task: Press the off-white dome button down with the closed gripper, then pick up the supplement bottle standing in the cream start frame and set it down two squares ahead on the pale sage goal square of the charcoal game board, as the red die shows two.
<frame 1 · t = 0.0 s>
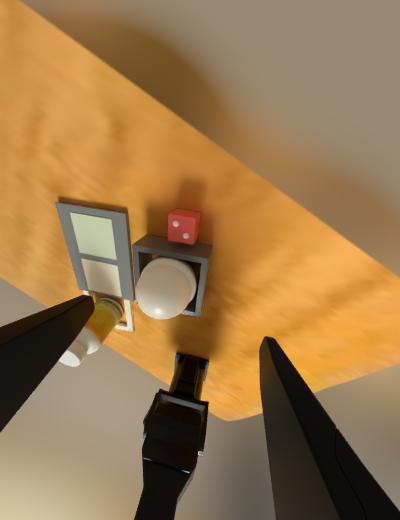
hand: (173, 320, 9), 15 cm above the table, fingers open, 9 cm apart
game board: (105, 276, 28), on the table
dome: (164, 290, 20), point 5 cm above the table, slide at 0.0 cm
dome housing: (177, 268, 25), on the table
supplement bottle: (111, 307, 32), resting in game board
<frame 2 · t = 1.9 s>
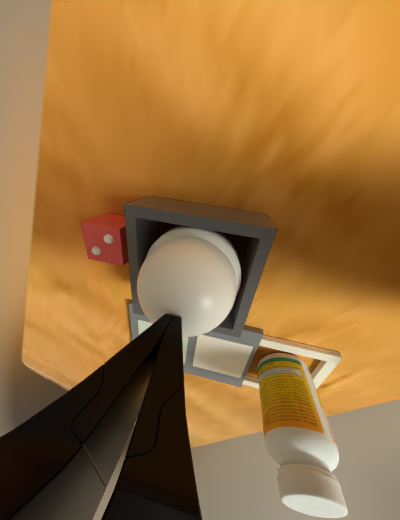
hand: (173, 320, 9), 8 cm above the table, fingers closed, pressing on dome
game board: (220, 351, 21), on the table
dome: (187, 284, 12), point 4 cm above the table, slide at 0.9 cm, touching gripper
dome housing: (199, 256, 15), on the table
supplement bottle: (280, 364, 20), resting in game board
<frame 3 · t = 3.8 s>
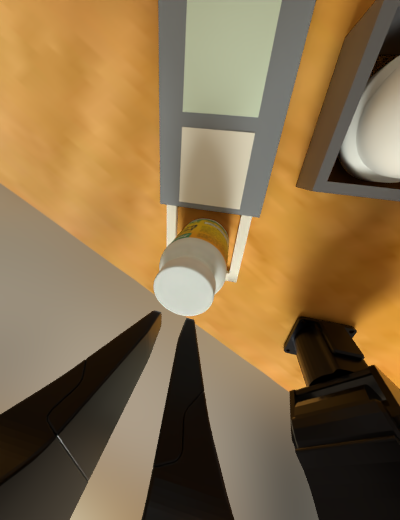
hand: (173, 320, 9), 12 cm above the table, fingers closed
game board: (213, 171, 16), on the table
dome housing: (380, 128, 13), on the table
supplement bottle: (205, 240, 20), resting in game board
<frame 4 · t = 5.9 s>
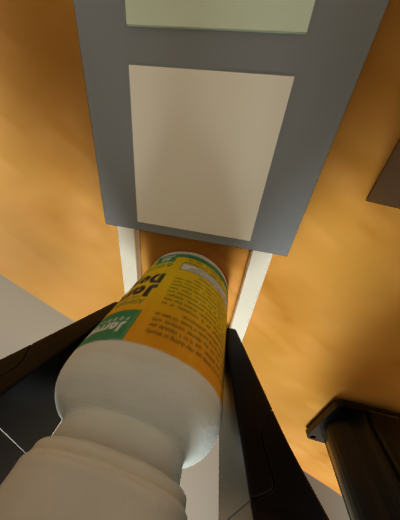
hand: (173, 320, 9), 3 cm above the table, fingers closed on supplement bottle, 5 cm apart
game board: (200, 166, 8), on the table
supplement bottle: (189, 283, 12), resting in game board, touching gripper
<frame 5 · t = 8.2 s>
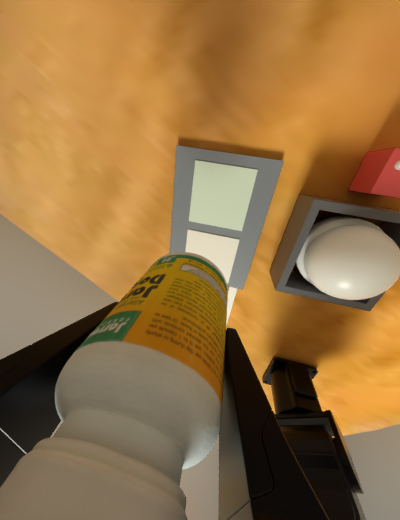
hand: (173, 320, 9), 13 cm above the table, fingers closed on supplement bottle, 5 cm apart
game board: (209, 255, 22), on the table
dome: (346, 262, 15), point 4 cm above the table, slide at 1.2 cm
dome housing: (325, 245, 19), on the table
supplement bottle: (189, 283, 12), point 10 cm above the table, touching gripper
when the fingers open (5 cm above the table, at t = 10.5 s): supplement bottle stays where it is, resting on game board.
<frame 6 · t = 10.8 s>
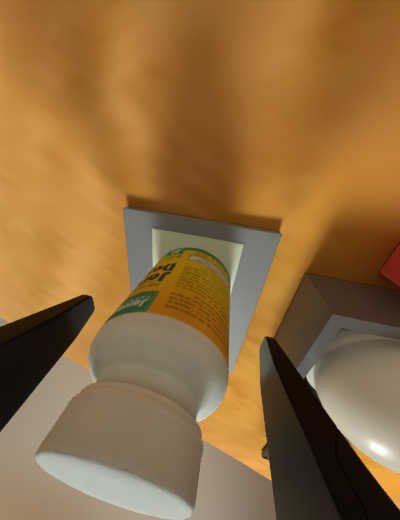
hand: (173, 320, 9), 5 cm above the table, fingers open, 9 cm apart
game board: (186, 332, 16), on the table
dome: (380, 391, 10), point 4 cm above the table, slide at 1.2 cm
dome housing: (342, 333, 13), on the table
supplement bottle: (194, 275, 13), point 1 cm above the table, touching game board
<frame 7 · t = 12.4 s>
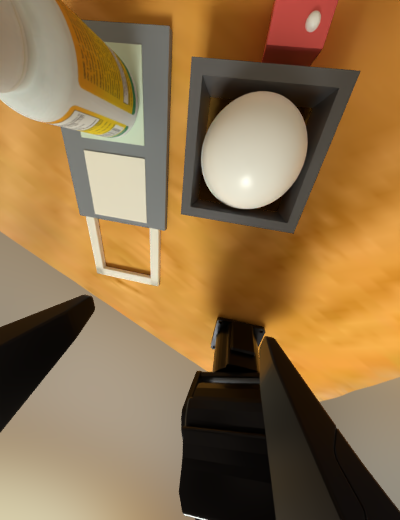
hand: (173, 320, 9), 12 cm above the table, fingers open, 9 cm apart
game board: (121, 188, 18), on the table
dome: (250, 158, 11), point 4 cm above the table, slide at 1.2 cm
dome housing: (247, 160, 15), on the table
supplement bottle: (110, 99, 14), point 1 cm above the table, touching game board
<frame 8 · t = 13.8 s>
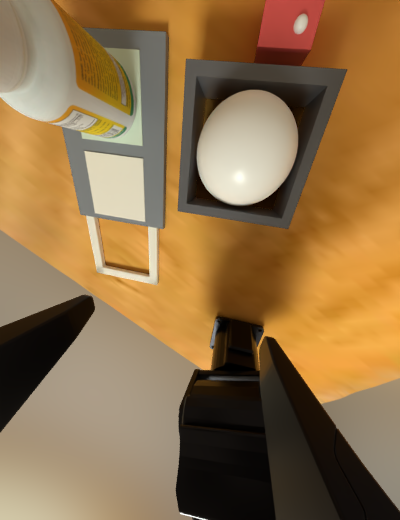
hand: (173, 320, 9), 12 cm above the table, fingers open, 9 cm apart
game board: (120, 188, 18), on the table
dome: (244, 155, 12), point 4 cm above the table, slide at 1.2 cm
dome housing: (242, 158, 15), on the table
supplement bottle: (110, 101, 15), point 1 cm above the table, touching game board
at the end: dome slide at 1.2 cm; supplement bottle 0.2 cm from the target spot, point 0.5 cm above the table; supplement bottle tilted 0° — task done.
